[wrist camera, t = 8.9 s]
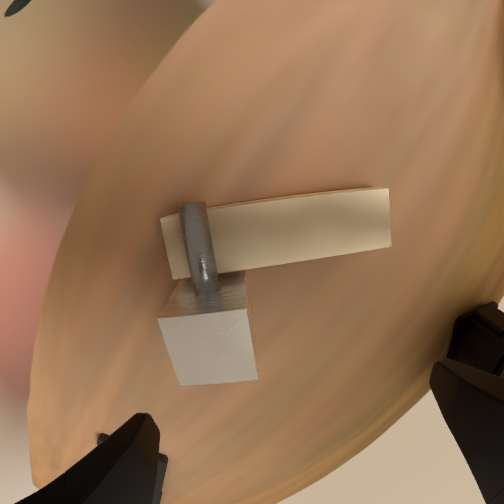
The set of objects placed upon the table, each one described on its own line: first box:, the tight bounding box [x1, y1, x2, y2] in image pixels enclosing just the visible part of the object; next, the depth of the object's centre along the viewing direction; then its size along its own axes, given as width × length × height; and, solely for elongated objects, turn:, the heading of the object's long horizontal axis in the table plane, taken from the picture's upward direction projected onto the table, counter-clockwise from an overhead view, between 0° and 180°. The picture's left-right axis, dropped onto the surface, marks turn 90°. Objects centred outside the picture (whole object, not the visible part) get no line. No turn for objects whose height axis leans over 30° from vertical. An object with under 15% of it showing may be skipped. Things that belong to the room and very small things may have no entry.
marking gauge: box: [157, 201, 258, 386], centre depth 14 cm, size 8×4×6 cm, turn 8°
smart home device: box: [97, 433, 168, 504], centre depth 24 cm, size 8×2×20 cm
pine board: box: [160, 187, 391, 280], centre depth 16 cm, size 4×13×2 cm, turn 98°
